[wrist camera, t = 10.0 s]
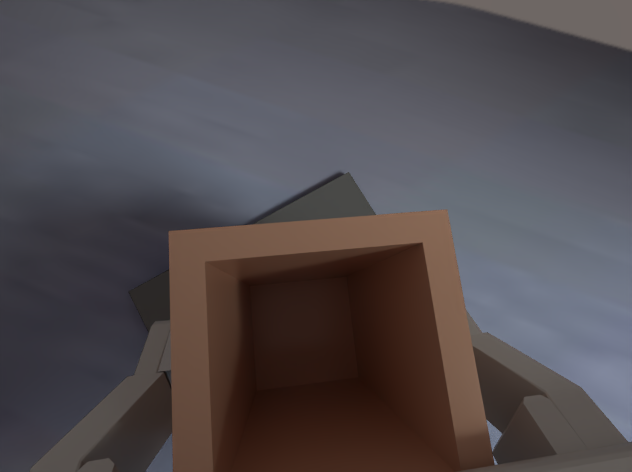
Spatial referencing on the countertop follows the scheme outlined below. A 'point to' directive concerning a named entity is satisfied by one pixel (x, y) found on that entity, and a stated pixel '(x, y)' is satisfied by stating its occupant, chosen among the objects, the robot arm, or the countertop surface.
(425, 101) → the countertop surface
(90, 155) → the countertop surface
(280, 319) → the open square container
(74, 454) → the robot arm
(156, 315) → the mat
